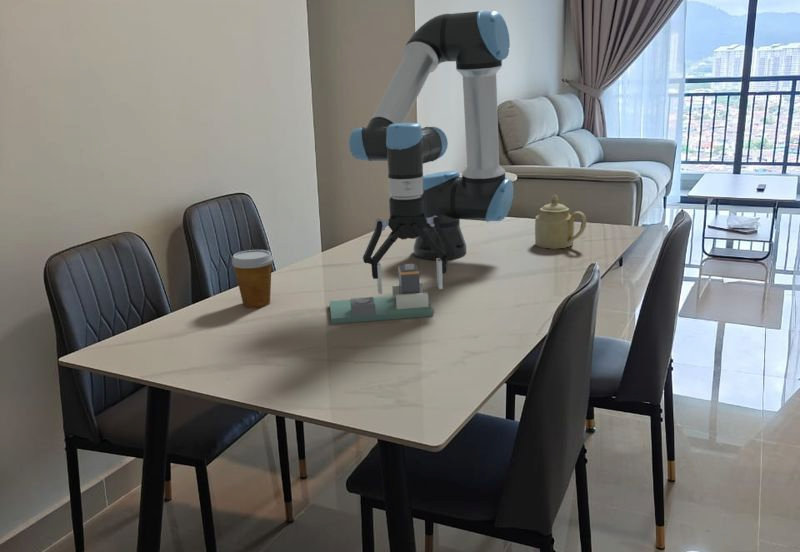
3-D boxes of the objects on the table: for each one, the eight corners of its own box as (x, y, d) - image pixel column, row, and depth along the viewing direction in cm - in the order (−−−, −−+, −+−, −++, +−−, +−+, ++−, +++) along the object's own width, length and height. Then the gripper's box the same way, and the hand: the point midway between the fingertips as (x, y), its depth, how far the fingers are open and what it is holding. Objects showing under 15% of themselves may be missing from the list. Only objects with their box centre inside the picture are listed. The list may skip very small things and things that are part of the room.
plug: (399, 299, 163) (397, 260, 160) (417, 297, 164) (415, 258, 161) (402, 306, 158) (400, 266, 156) (420, 304, 159) (419, 264, 156)
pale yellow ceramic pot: (588, 241, 212) (590, 191, 208) (584, 251, 202) (586, 198, 198) (538, 239, 217) (539, 190, 213) (531, 248, 207) (532, 197, 203)
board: (329, 306, 164) (328, 288, 163) (424, 298, 167) (423, 281, 165) (331, 323, 153) (330, 305, 152) (433, 315, 155) (432, 297, 154)
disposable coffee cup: (284, 298, 171) (280, 250, 167) (264, 311, 162) (259, 260, 159) (249, 296, 174) (244, 248, 170) (228, 308, 165) (222, 258, 162)
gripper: (349, 203, 149) (355, 299, 155) (466, 195, 152) (468, 290, 158) (347, 196, 156) (353, 288, 163) (459, 189, 159) (461, 280, 165)
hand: (410, 289), depth 160 cm, fingers open, 13 cm apart
